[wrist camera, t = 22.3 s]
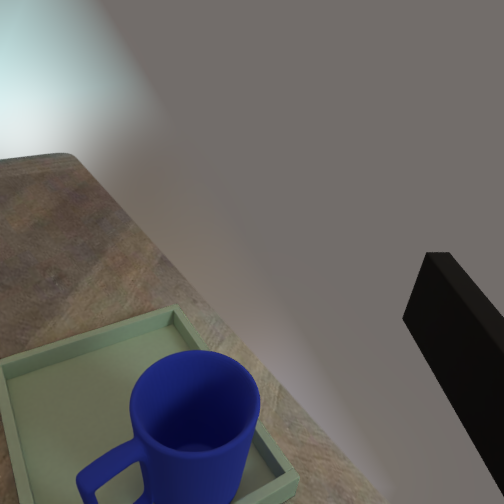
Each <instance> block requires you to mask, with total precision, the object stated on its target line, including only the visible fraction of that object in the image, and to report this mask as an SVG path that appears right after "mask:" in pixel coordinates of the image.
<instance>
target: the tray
mask: <svg viewBox="0 0 504 504" xmlns="http://www.w3.org/2000/svg"><path fill="white" fill-rule="evenodd" d="M188 350H206V351H210V349H209V348H208V347H207V345H206V344H205V342H204V341H203V339H202V338H201V337H200V335H199V334H198V332H197V331H196V330H195V328H194V327H193V325H192V324H191V323H190V321H189V320H188V318H187V317H186V315H185V314H184V313H183V311H182V310H181V308H180V307H179V306H178V304H174V305H171V306H167V307H164V308H161V309H158V310H155V311H152V312H148V313H145V314H142V315H139V316H136V317H133V318H129V319H126V320H123V321H120V322H117V323H114V324H110V325H107V326H104V327H101V328H98V329H94V330H91V331H88V332H85V333H82V334H79V335H75V336H72V337H69V338H66V339H63V340H60V341H56V342H53V343H50V344H47V345H44V346H41V347H37V348H34V349H31V350H28V351H25V352H22V353H18V354H15V355H12V356H9V357H6V358H2V359H0V412H1V417H2V422H3V427H4V431H5V436H6V441H7V446H8V450H9V455H10V460H11V465H12V469H13V474H14V479H15V484H16V488H17V493H18V498H19V503H20V504H84V503H83V500H82V498H81V496H80V493H79V491H78V488H77V485H76V476H77V474H78V473H79V472H80V471H81V470H82V469H84V468H85V467H86V466H88V465H89V464H90V463H92V462H93V461H95V460H96V459H98V458H99V457H101V456H102V455H104V454H105V453H107V452H108V451H110V450H111V449H113V448H115V447H117V446H119V445H120V444H123V443H125V442H127V441H129V440H131V439H133V437H134V434H133V428H132V423H131V418H130V411H129V404H130V397H131V393H132V390H133V388H134V386H135V384H136V382H137V380H138V379H139V377H140V376H141V375H142V373H143V372H144V371H145V370H146V369H147V368H149V367H150V366H151V365H152V364H154V363H155V362H157V361H158V360H160V359H162V358H164V357H166V356H168V355H171V354H174V353H178V352H182V351H188ZM299 478H300V476H299V475H298V473H297V472H296V471H295V469H294V468H293V466H292V465H291V464H290V462H289V461H288V459H287V458H286V456H285V455H284V454H283V452H282V451H281V449H280V448H279V447H278V445H277V444H276V442H275V441H274V440H273V438H272V437H271V435H270V434H269V433H268V431H267V430H266V428H265V427H264V425H263V424H262V423H261V421H260V420H259V418H258V420H257V424H256V427H255V431H254V435H253V438H252V442H251V445H250V449H249V453H248V456H247V460H246V463H245V467H244V471H243V474H242V478H241V481H240V485H239V488H238V490H237V493H236V495H235V496H234V498H233V500H232V501H231V503H230V504H281V503H283V502H285V501H286V500H288V499H290V498H291V497H293V496H294V495H295V493H296V489H297V486H298V482H299ZM143 492H144V482H143V477H142V472H141V468H140V463H139V461H138V462H135V463H133V464H132V465H130V466H129V467H127V468H126V469H124V470H123V471H121V472H120V473H119V474H117V475H116V476H114V477H113V478H112V479H110V480H109V481H108V482H107V483H105V484H104V485H103V486H101V487H100V488H99V489H98V490H97V491H96V492H95V496H96V498H97V501H98V504H133V503H134V502H135V501H136V500H137V499H138V498H139V497H140V496H141V495H142V494H143ZM153 504H154V503H153Z"/></svg>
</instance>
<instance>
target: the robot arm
mask: <svg viewBox="0 0 504 504" xmlns="http://www.w3.org/2000/svg"><path fill="white" fill-rule="evenodd" d="M402 319H403V321H404V322H405V324H406V326H407V328H408V329H409V331H410V333H411V335H412V336H413V338H414V340H415V342H416V343H417V345H418V347H419V348H420V350H421V352H422V354H423V356H424V357H425V359H426V361H427V363H428V364H429V366H430V368H431V370H432V372H433V373H434V375H435V377H436V379H437V380H438V382H439V384H440V386H441V387H442V389H443V391H444V393H445V394H446V396H447V398H448V400H449V401H450V403H451V405H452V407H453V408H454V410H455V412H456V414H457V415H458V417H459V419H460V421H461V422H462V424H463V426H464V428H465V429H466V431H467V433H468V435H469V436H470V438H471V440H472V442H473V444H474V445H475V447H476V449H477V451H478V452H479V454H480V456H481V458H482V459H483V461H484V463H485V465H486V466H487V468H488V470H489V472H490V473H491V475H492V477H493V479H494V480H495V482H496V484H497V486H498V487H499V489H500V491H501V493H502V494H503V496H504V317H503V316H502V315H501V314H500V313H499V311H498V310H497V309H496V308H495V307H494V305H493V304H492V303H491V302H490V301H489V300H488V298H487V297H486V296H485V295H484V294H483V292H482V291H481V290H480V289H479V287H478V286H477V285H476V284H475V283H474V282H473V280H472V279H471V278H470V277H469V276H468V274H467V273H466V272H465V271H464V270H463V268H462V267H461V266H460V265H459V264H458V262H457V261H456V260H455V259H454V258H453V256H452V255H451V254H450V253H449V252H445V253H444V252H434V253H433V252H427V253H426V255H425V258H424V260H423V263H422V266H421V268H420V271H419V274H418V277H417V279H416V283H415V285H414V288H413V291H412V293H411V296H410V299H409V302H408V304H407V307H406V310H405V312H404V315H403V318H402Z"/></svg>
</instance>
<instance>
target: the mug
mask: <svg viewBox="0 0 504 504" xmlns="http://www.w3.org/2000/svg"><path fill="white" fill-rule="evenodd" d="M129 411H130V418H131V423H132V428H133V434H134V437H133V439H131V440H129V441H127V442H125V443H123V444H120V445H119V446H117V447H115V448H113V449H111V450H110V451H108V452H107V453H105V454H104V455H102V456H101V457H99V458H98V459H96V460H95V461H93V462H92V463H90V464H89V465H88V466H86V467H85V468H84V469H82V470H81V471H80V472H79V473H78V474H77V476H76V485H77V488H78V491H79V493H80V496H81V498H82V500H83V503H84V504H98V501H97V498H96V496H95V492H96V491H97V490H98V489H99V488H100V487H101V486H103V485H104V484H105V483H107V482H108V481H109V480H110V479H112V478H113V477H114V476H116V475H117V474H119V473H120V472H121V471H123V470H124V469H126V468H127V467H129V466H130V465H132V464H133V463H135V462H138V461H139V463H140V468H141V472H142V477H143V482H144V492H143V494H142V495H141V496H140V497H139V498H138V499H137V500H136V501H135V502H134V503H133V504H153V503H154V504H230V503H231V501H232V500H233V498H234V496H235V495H236V493H237V490H238V488H239V485H240V481H241V478H242V474H243V471H244V467H245V463H246V460H247V456H248V453H249V449H250V445H251V442H252V438H253V435H254V431H255V427H256V424H257V420H258V416H259V412H260V395H259V391H258V387H257V385H256V382H255V381H254V379H253V377H252V376H251V374H250V373H249V372H248V371H247V370H246V369H245V368H244V367H243V366H242V365H241V364H240V363H238V362H237V361H235V360H234V359H232V358H230V357H228V356H226V355H223V354H220V353H217V352H212V351H206V350H188V351H182V352H178V353H174V354H171V355H168V356H166V357H164V358H162V359H160V360H158V361H157V362H155V363H154V364H152V365H151V366H150V367H149V368H147V369H146V370H145V371H144V372H143V373H142V375H141V376H140V377H139V379H138V380H137V382H136V384H135V386H134V388H133V390H132V393H131V397H130V404H129Z"/></svg>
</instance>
